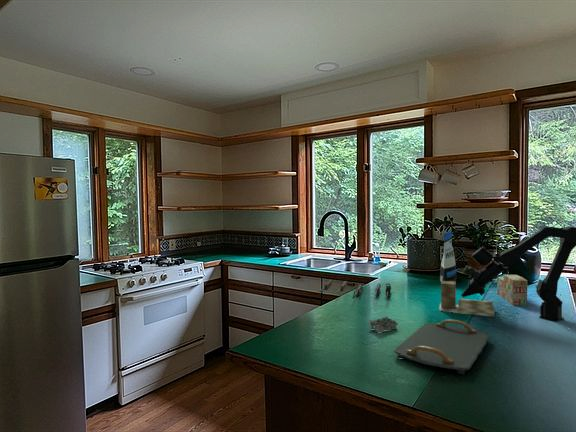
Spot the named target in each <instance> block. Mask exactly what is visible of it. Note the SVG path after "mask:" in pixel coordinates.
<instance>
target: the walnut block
mask: <svg viewBox="0 0 576 432" xmlns="http://www.w3.org/2000/svg"><path fill="white" fill-rule="evenodd" d="M456 282H457V281H456ZM456 282H452V281H441V282H440V303H441V308H453V309H456V305H457V303H456V301H457V300H456V299H457V296H456V295H457V294H456V291H457V290H456V288H457V287H456V284H457V283H456Z"/></svg>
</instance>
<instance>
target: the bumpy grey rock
mask: <svg viewBox="0 0 576 432" xmlns="http://www.w3.org/2000/svg"><path fill="white" fill-rule="evenodd" d="M367 324H368V325H369V330H370V329H375V330H376V331H377V332H384V333H385V331H384V330H388V331H390V332H391V331H392V330H391V329H397V327H398V324H399V322H397V321H396V320H394V319H391V318H389V317H388V316H384V317H381V318H377V319H374V320H369V321H368V323H367ZM378 325H379V326H378ZM376 331H375V332H376Z"/></svg>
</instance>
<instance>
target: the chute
mask: <svg viewBox="0 0 576 432" xmlns="http://www.w3.org/2000/svg"><path fill="white" fill-rule="evenodd" d="M457 300H458V302H457V303H458V304H456V309H453V308H441V302H440V303H439V307H438V311H439V312H441V311H443V312H442V313H451V312H453V313H454V314H461V315H462V314H463V315H474V316H484V317H485V316H486V317H495V309H496V308H495V306H494V302H493V301H489V300H478V299H477V300H476V299H465V298H464V299H463V298H458V299H457ZM453 313H452V314H453Z"/></svg>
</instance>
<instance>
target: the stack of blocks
mask: <svg viewBox="0 0 576 432" xmlns="http://www.w3.org/2000/svg"><path fill="white" fill-rule="evenodd" d="M496 283H497V285H496V286H497V287H496V288H497V295H498V296H499V297H501V298H502V299H503V300H505V301H506V302H508V304H510V305H511V306H519V307H520V306H521V307H523V306H524V307H525V306H526V307H527V306H528V280H527V279H525V278H524V277H523V276H520V275H518V274H503V276H497V277H496Z"/></svg>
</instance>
